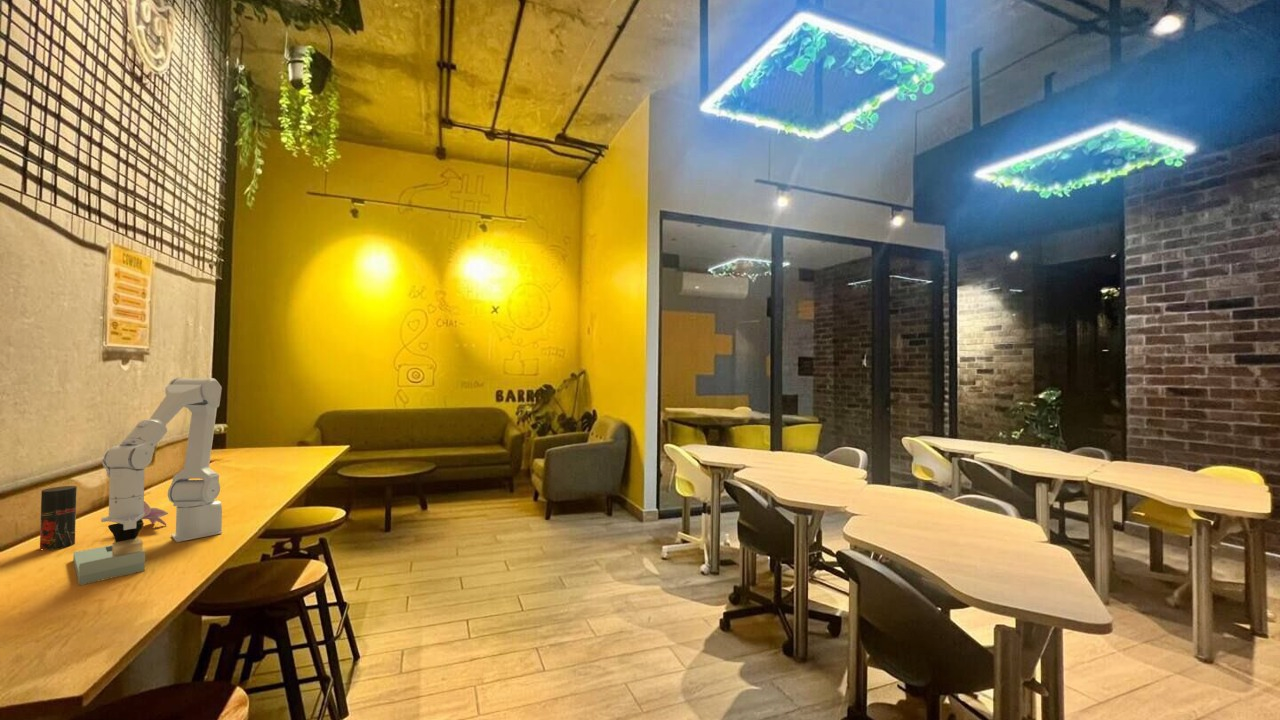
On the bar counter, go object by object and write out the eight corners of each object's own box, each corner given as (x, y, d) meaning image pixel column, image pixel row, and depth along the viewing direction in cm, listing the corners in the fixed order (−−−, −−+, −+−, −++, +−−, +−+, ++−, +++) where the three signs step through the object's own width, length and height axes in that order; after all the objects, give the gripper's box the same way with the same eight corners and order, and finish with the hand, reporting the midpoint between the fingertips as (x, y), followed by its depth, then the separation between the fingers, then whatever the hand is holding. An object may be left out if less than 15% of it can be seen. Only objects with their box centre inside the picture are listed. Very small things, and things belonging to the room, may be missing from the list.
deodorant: (80, 543, 130) (81, 487, 130) (47, 551, 124) (48, 492, 125) (67, 541, 132) (69, 485, 132) (34, 548, 126) (36, 490, 126)
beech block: (139, 556, 117) (140, 537, 117) (142, 561, 114) (142, 542, 114) (111, 562, 113) (112, 542, 113) (113, 567, 111) (114, 547, 111)
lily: (166, 535, 140) (182, 501, 145) (111, 528, 132) (130, 492, 137) (156, 539, 147) (172, 507, 152) (103, 533, 139) (121, 499, 144)
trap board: (132, 548, 127) (132, 531, 127) (144, 570, 114) (145, 551, 114) (73, 560, 119) (73, 541, 119) (79, 585, 106) (79, 564, 106)
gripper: (99, 494, 118) (97, 550, 118) (105, 505, 109) (103, 566, 108) (140, 488, 123) (139, 542, 123) (149, 498, 114) (148, 557, 114)
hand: (125, 553), depth 116 cm, fingers closed
